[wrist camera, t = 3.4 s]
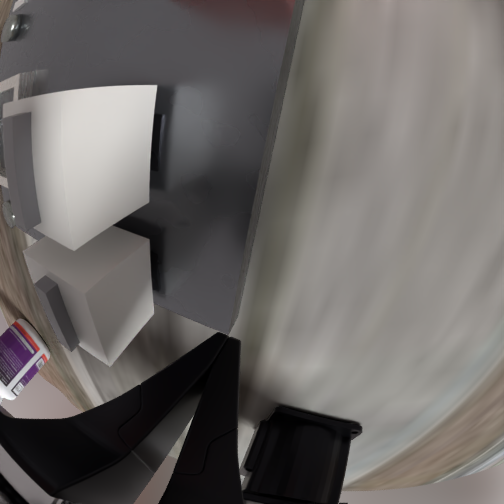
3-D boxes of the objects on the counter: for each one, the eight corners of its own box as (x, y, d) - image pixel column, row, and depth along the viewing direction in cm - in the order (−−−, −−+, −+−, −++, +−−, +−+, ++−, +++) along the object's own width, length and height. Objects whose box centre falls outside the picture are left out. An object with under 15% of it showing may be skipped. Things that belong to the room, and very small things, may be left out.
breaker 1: (157, 85, 7) (40, 95, 3) (149, 202, 9) (58, 262, 5) (79, 88, 7) (-12, 108, 4) (79, 182, 9) (1, 223, 6)
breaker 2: (149, 239, 10) (71, 305, 6) (154, 313, 12) (102, 377, 8) (82, 213, 10) (11, 259, 7) (94, 282, 12) (41, 330, 9)
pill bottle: (15, 309, 30) (-37, 362, 18) (35, 324, 28) (-24, 386, 16) (37, 345, 34) (-8, 396, 22) (60, 362, 32) (11, 421, 20)
